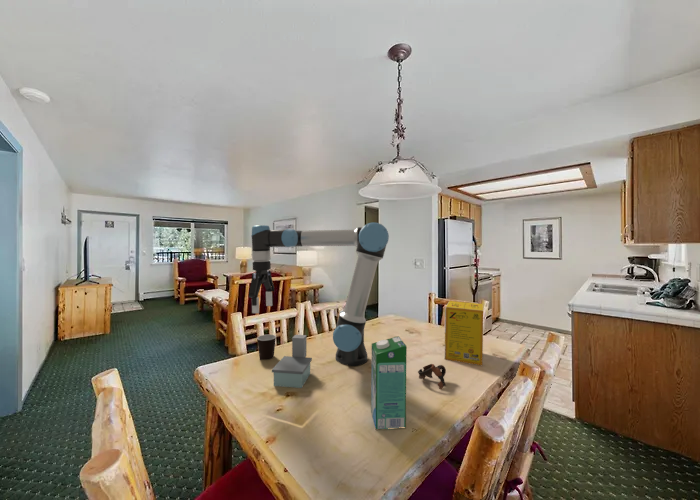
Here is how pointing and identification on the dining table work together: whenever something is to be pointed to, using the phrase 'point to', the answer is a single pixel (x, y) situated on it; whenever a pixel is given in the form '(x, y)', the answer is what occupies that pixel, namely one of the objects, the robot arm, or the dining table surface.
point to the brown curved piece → (437, 372)
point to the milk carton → (388, 383)
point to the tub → (291, 379)
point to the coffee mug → (266, 346)
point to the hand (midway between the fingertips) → (262, 309)
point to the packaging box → (464, 332)
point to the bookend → (294, 358)
